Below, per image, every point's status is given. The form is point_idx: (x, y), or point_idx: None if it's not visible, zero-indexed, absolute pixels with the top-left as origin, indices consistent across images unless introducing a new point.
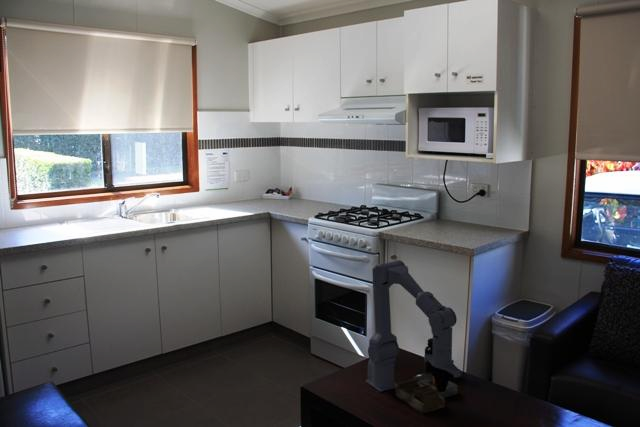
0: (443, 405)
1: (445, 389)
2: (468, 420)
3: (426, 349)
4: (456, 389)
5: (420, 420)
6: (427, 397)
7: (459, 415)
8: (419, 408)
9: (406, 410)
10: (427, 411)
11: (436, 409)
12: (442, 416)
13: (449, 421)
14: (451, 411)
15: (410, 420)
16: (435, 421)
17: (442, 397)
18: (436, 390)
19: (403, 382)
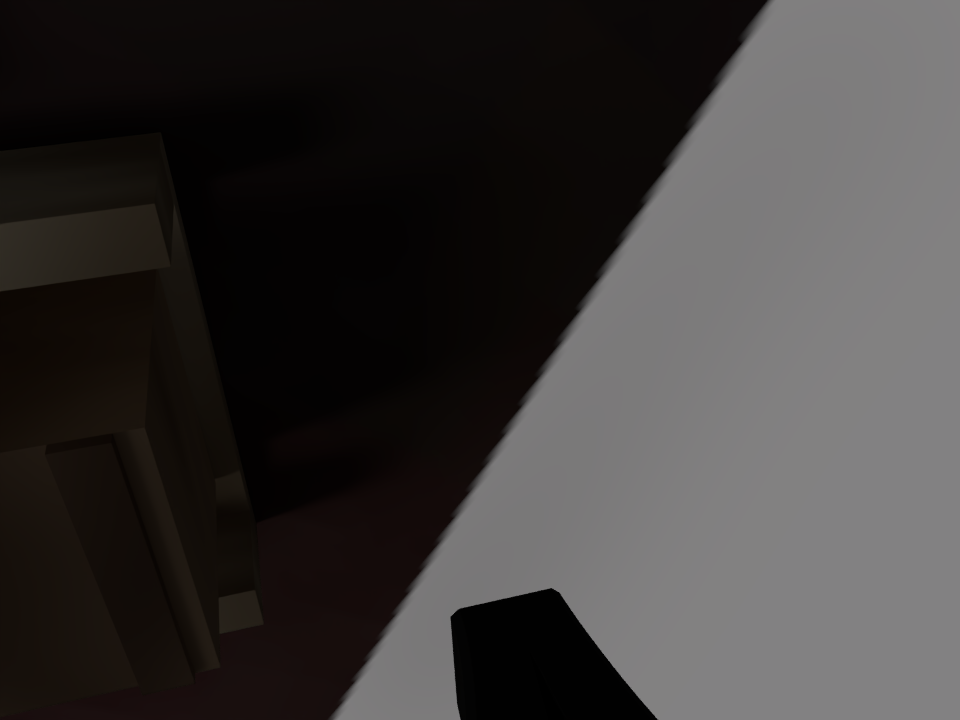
0: (165, 180)
1: (576, 626)
2: (722, 26)
3: None
4: None
5: (393, 582)
6: (217, 624)
7: (527, 64)
8: None
9: None
10: (238, 462)
11: (201, 307)
12: (428, 321)
13: (587, 301)
14: (351, 110)
15: (345, 663)
16: (496, 452)
17: (76, 223)
18: (53, 461)
19: None
